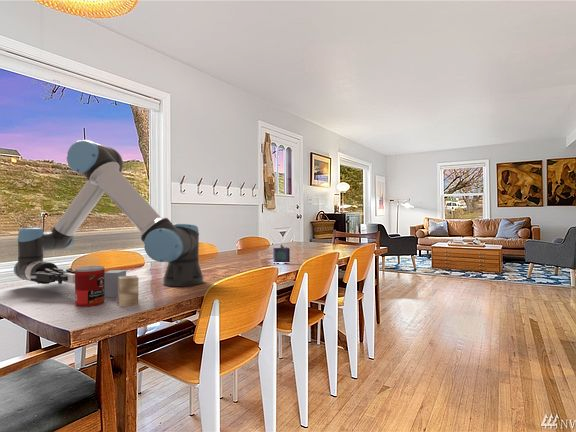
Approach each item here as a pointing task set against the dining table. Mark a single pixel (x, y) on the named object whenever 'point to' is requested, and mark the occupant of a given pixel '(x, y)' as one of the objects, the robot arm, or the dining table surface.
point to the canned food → (89, 286)
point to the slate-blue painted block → (112, 282)
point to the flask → (281, 254)
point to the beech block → (127, 290)
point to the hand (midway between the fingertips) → (75, 279)
